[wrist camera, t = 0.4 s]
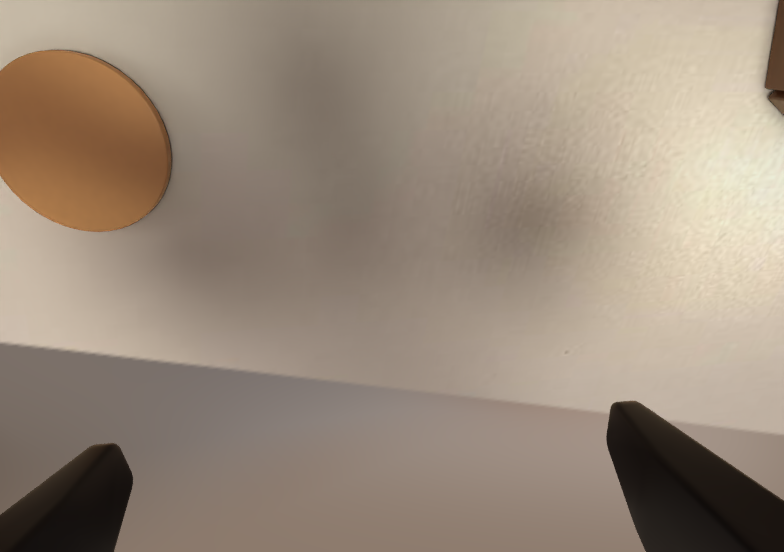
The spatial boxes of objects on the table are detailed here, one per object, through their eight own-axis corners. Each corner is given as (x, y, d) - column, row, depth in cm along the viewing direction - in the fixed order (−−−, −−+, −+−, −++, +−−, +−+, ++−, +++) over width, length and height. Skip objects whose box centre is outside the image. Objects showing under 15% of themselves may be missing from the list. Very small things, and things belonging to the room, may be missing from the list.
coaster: (193, 217, 20) (189, 220, 20) (34, 238, 20) (28, 242, 20) (138, 37, 17) (132, 37, 17) (-44, 64, 18) (-53, 64, 17)
